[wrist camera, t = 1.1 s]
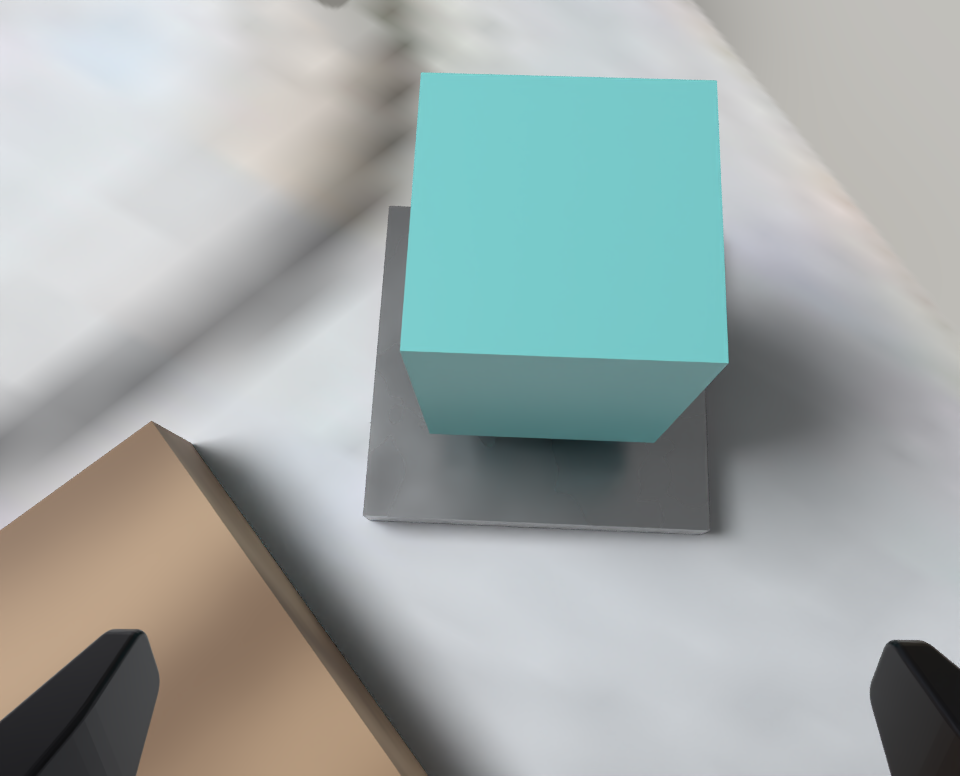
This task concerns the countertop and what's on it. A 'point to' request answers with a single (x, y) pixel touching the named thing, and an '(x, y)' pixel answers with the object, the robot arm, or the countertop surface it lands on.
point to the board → (186, 621)
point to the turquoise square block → (564, 255)
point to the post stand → (519, 456)
